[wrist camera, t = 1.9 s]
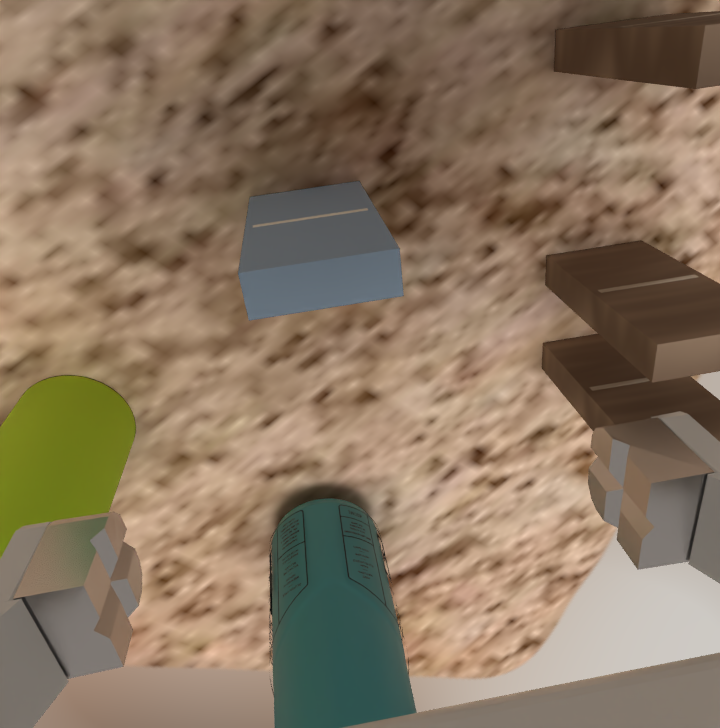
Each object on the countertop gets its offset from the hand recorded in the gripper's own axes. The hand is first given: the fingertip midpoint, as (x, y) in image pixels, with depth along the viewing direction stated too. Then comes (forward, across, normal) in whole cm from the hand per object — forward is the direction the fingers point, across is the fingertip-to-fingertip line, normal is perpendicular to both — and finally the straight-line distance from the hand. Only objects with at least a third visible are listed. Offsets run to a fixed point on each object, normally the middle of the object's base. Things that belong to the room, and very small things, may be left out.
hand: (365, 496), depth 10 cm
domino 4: (+20, -14, +10) cm, 26 cm away
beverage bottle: (+20, +2, +19) cm, 28 cm away
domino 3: (+20, -14, +5) cm, 25 cm away
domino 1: (+20, 0, 0) cm, 20 cm away
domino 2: (+20, -14, -5) cm, 25 cm away
